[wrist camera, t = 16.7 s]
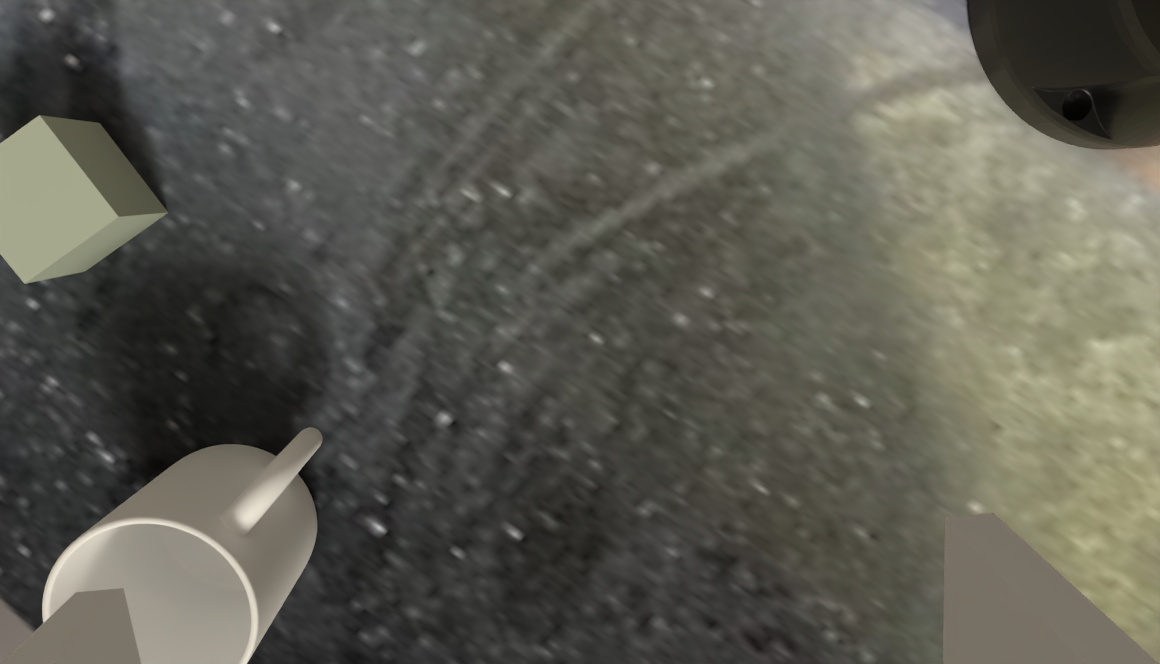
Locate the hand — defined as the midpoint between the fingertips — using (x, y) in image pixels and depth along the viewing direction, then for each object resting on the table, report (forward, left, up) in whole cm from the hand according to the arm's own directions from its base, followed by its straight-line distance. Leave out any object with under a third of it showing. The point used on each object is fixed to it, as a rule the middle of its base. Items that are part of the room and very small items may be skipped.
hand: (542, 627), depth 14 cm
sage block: (+19, -11, -30) cm, 37 cm away
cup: (+16, +5, -30) cm, 34 cm away
